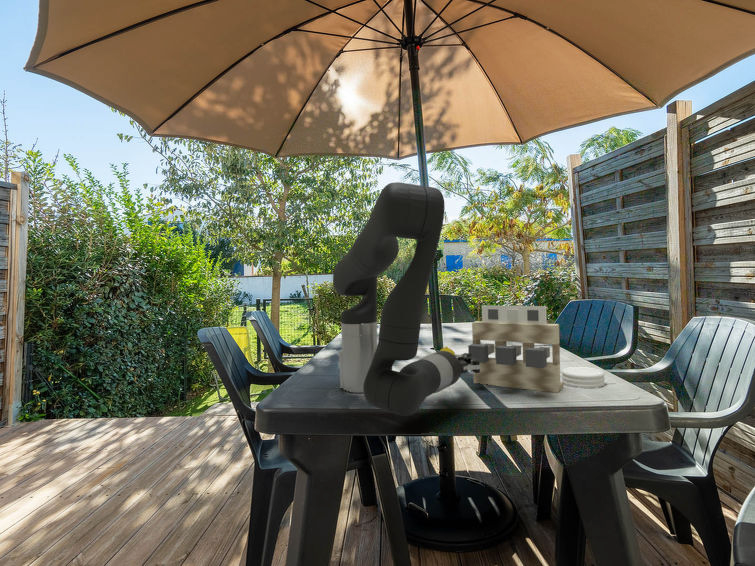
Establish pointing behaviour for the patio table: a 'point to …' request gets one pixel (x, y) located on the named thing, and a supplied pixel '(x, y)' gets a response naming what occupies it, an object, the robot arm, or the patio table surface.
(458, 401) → the patio table surface
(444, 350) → the lemon
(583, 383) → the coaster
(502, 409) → the patio table surface
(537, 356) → the button right
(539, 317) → the card
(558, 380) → the board
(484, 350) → the button left
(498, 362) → the button mid
